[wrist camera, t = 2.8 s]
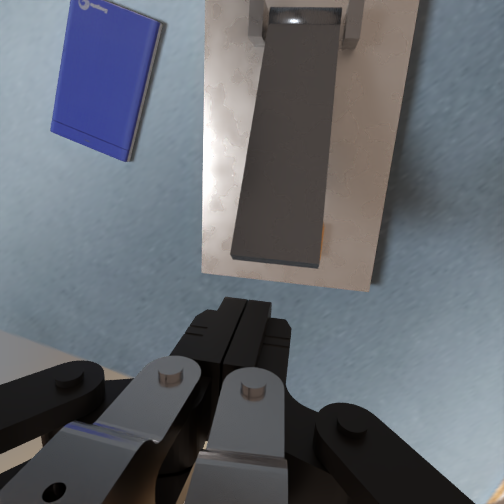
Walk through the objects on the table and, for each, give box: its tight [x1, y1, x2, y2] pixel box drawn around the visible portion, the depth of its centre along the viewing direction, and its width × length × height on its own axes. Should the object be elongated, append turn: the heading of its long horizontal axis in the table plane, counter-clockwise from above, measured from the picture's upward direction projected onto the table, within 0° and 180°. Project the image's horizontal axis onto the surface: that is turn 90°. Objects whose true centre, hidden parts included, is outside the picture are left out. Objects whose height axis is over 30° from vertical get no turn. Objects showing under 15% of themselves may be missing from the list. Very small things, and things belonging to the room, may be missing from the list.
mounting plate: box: [202, 0, 419, 292], centre depth 29 cm, size 24×16×5 cm, turn 177°
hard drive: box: [50, 0, 163, 162], centre depth 32 cm, size 2×8×12 cm
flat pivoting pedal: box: [230, 7, 342, 269], centre depth 23 cm, size 19×5×2 cm
